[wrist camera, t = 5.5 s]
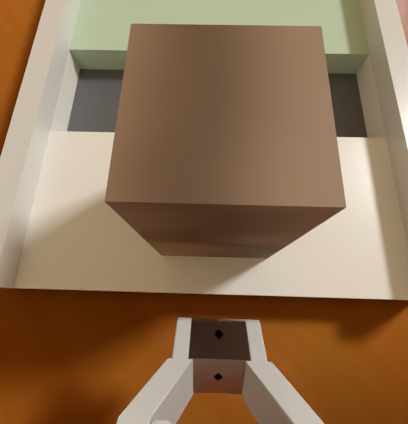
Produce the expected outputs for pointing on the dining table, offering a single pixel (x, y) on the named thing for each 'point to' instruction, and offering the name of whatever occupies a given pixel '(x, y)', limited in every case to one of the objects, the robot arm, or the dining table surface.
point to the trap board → (103, 143)
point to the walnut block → (225, 139)
